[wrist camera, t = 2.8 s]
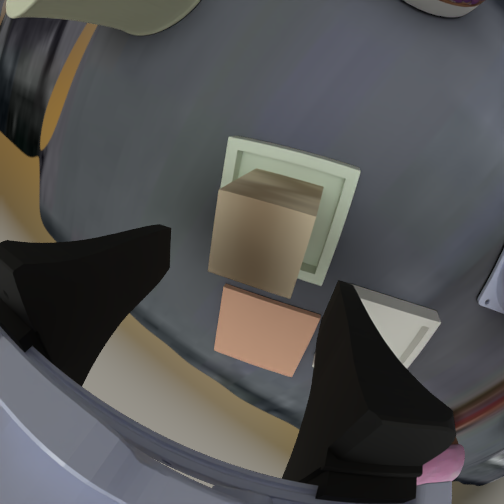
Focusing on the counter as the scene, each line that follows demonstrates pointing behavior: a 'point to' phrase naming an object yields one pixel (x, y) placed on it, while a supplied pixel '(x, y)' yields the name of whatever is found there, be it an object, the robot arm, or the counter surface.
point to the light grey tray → (399, 323)
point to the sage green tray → (306, 169)
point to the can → (108, 12)
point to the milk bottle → (446, 6)
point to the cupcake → (444, 465)
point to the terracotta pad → (263, 330)
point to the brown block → (263, 230)
